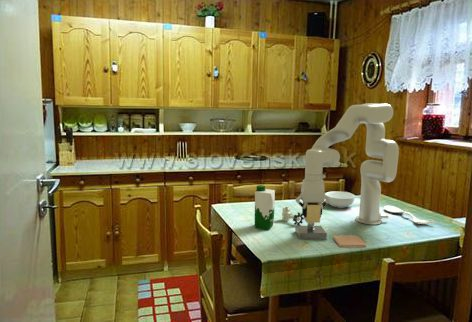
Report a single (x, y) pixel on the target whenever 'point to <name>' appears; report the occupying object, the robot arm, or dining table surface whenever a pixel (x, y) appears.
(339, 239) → the tile
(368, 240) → the dining table surface
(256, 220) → the milk carton
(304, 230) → the grey base with post
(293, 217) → the valve
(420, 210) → the dining table surface
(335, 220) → the dining table surface
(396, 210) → the spoon
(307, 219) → the sleeve
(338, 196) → the cereal bowl
